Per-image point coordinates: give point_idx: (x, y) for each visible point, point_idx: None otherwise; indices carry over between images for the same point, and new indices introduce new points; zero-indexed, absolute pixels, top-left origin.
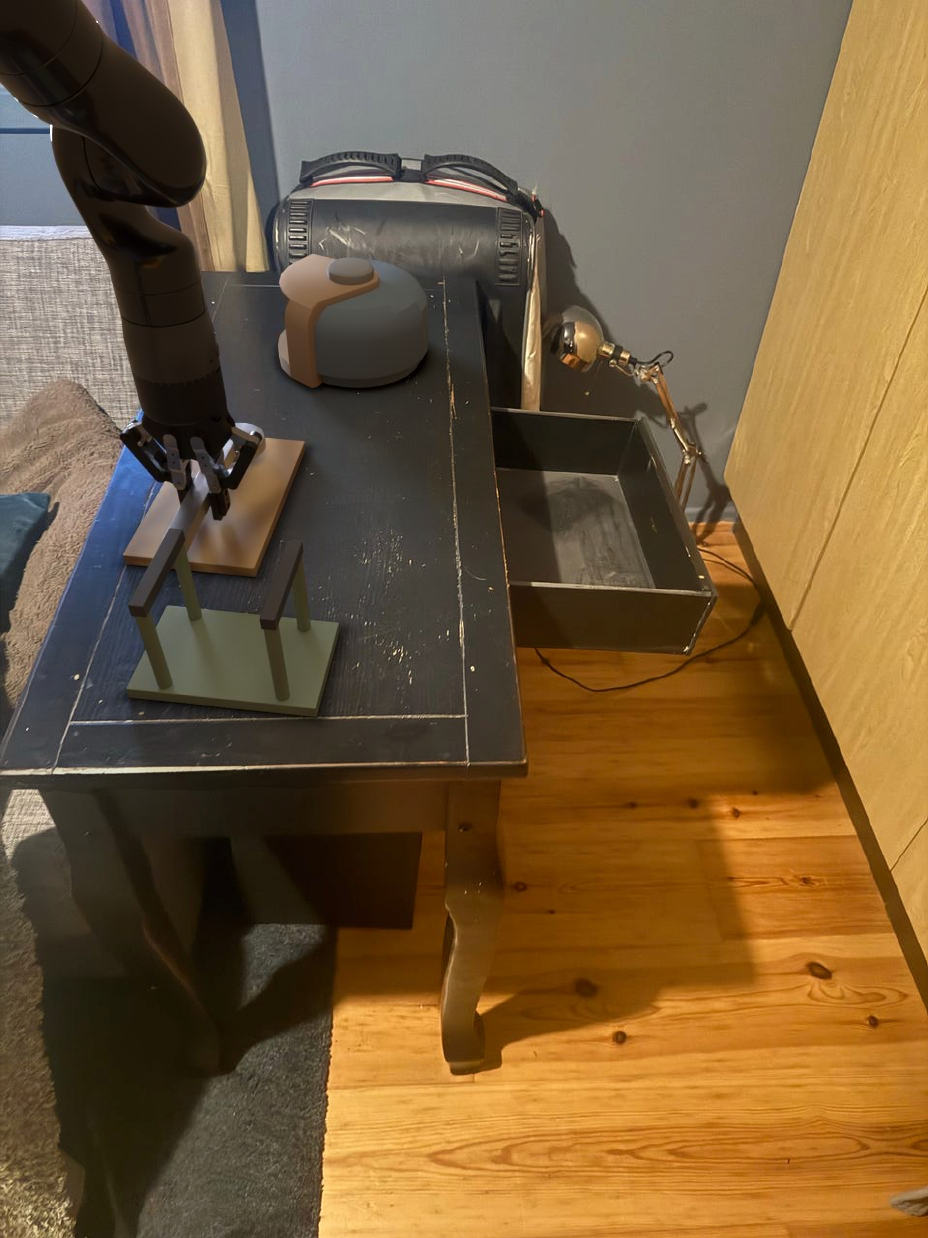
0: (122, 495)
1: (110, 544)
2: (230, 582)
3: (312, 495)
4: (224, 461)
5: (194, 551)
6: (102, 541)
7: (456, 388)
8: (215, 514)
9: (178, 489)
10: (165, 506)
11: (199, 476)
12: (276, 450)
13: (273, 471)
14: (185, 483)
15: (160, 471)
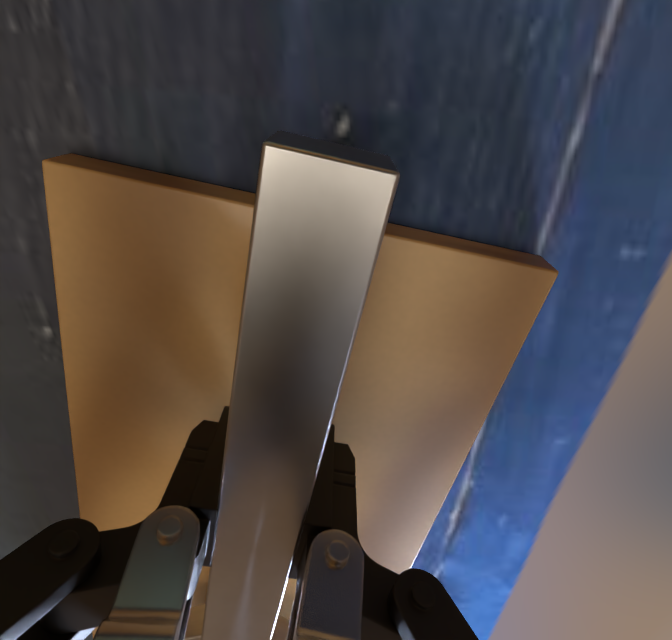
0: (527, 515)
1: (578, 349)
2: (157, 130)
3: (30, 492)
4: (202, 630)
5: None
6: (600, 363)
7: None
8: None
9: (343, 531)
10: (413, 473)
11: (274, 581)
12: None
13: None
14: (307, 560)
15: (415, 636)
